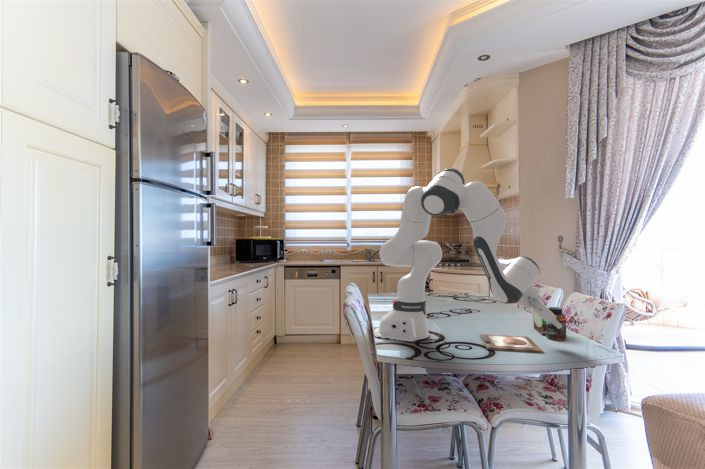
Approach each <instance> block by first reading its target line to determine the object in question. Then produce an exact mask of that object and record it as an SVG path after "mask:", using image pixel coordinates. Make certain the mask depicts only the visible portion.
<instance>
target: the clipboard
mask: <svg viewBox="0 0 705 469" xmlns="http://www.w3.org/2000/svg"><path fill="white" fill-rule="evenodd" d="M479 338H480V340H481V341H482V342H483V345H484V346H485V348H486V350H487V351H503V352H506V351H507V352H522V353H540V354H544V350H543V349H542V348H541V347H540V346H539V345H538V344H536V343H535V341H533V339H531V338H530V337H528V336H519V335H499V334H498V335H497V334H483V333H482V334H481V333H480V334H479Z"/></svg>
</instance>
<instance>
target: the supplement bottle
mask: <svg viewBox="0 0 705 469" xmlns="http://www.w3.org/2000/svg"><path fill="white" fill-rule="evenodd" d="M548 308H549V310H550V311H552V312H553V313H554V314H555V315H556V319H557V321H558V322H559V323H560V324H561V325H562V327H561V328H560V329H558V328H557V327H556V326H555V325H553V324H552V323H547V322H546V329H547V335H546V338H547V340H549V341H552V342H556V343H557V342H558V343H559V342H560V343H561V342H565V341H567V321H566V320H567V319H566V315H565V314H564V313H563V308H562V307H559V306H549V307H548Z"/></svg>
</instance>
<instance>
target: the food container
mask: <svg viewBox="0 0 705 469" xmlns="http://www.w3.org/2000/svg"><path fill="white" fill-rule="evenodd" d="M546 307H547V308H548V309H549V307H548V306H546ZM531 310H532V319H533V321H532V325H533V329H534V331H536V332H537V333H538V334H539V335H540V336H547V329H546V321H545V320H543V319H542V318H541V317H540V316H539V315H538V314H537V313H536V312H535V311H534V310H533V309H532V308H531Z"/></svg>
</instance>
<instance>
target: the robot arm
mask: <svg viewBox="0 0 705 469" xmlns="http://www.w3.org/2000/svg"><path fill="white" fill-rule="evenodd" d="M458 210H461V212H463V214H464V216H465V218H466V219H467V221H468V222H469V224H470V227H471V229H472V234H473V248H474V252H475V254H476V256H477V258H478V260H479V264H481V268H482V269H483V271H484V275H485V276H486V278H487V281H488V286H489V290H490V291H491V295H492V296H493V297H494V298H495V299H496V300H497V301H498V302H500V303H501V304H507V305H510V304H512V305H514V304H517V305H518V306H519V307H521V308H523V307H526V309H530V308H531V310H532V309H533V310H534V311H535V312H536V313H537V314H538V315H539V316H540V317H541V318H542V319H543V320H545V321H546V322H547V323H552V324H553V325H555V326H556V327H557V328H558V329H560V328H561V327H562V325H561V324H560V323H559V322H558V321H557V319H556V315H555V314H554V313H553V312H552V311H550V310H549V309H548V308H549V307H548V306H546V304H545V303H544V302H543V301H542V300H541V298H542V296H541V294H540V292H541V291H540V290H539V288H537V286H535V285H534V284H533V283H534V282H536V281H537V279H538V278H539V276H540V274H541V271H540V270H541V269H540V266H539V265H538V264H537V263H536V262H535V261H534V259H532V258H530V257H528V256H521V255H520V256H517V257H515V258H510V259H505V258H502V257H498V256H497V249H498V246H499V242H500V241H501V238H502V237H503V234H504V233H505V230H506V228H507V223H508V220H507V214H506V212H505V211H504V208H503V207H502V205H501V204H500V202H499V200H498V199H497V197H496V196H495V195H494V194H493V192H492V191H491V190H490V189H489V187H487V185H485V184H484V183H483V182H482V181H477V180H475V181H470V182H468V183H465V178H464V175H463V174H462V172H461V171H460V170H458V169H456V168H452V167H450V168H445V169H443V170H440V172H438V173H437V174H436V175H435V176H434V177H433V178H432V179H431V180H430V182H429V184H427V186H419V185H418V186H413V187H411V188H410V189H408V190H407V192H406V195H405V197H404V200H403V205H402V209H401V218H400V223H399V226H398V227H399V228H398V230H397V232H396V233H395V234H394V235H393V237H391V238H390V239H389V240H387V241H385V242H384V243H382V245H381V247H380V249H379V258H380V261H381V262H382V263H383V265H384V266H387V267H388V266H389V267H393V268H394V267H395V268H411V270H410V272H409V273H408V274H406V275H404V276H402V277H401V278H400V279H398V281H397V299H396V298H394V299H392V309H391V310H389V311H388V312H387V313H386V314H384V315H383V316H382V317H381V319H380V322H379V326H378V327H376V328H375V330H374V331H373V335H374V334H375V335H376V336H377V337H381V338H380V339H385V338H389V339H388V340H394V339H395V340H396V341H404V342H415V341H419V340H424V339H427V338H428V337H429V336H430V332H429V330H428V329H429V328H428V324H427V318H426V315H427V302H426V298H425V297H426V296H425V295H426V294H425V293H426V282H427V278H428V276H429V274H430V272H431V271H432V270H433V269H434V268H435V267H436V266H437V265H438V264H439V263H440V262H441V261H442V258H443V250H442V247H441V245H440V244H439V243H438V242H437V241H432V240H428V239H427V240H426V239H425V238H426V236H427V235H428V233H429V232H430V226H431V220H432V217H440V216H444V215H448V214H449V215H450V214H453V213H456V212H457V211H458ZM423 239H425V240H423ZM547 307H548V308H547ZM533 310H532V311H533ZM377 337H376V338H377ZM395 340H394V341H395Z"/></svg>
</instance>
